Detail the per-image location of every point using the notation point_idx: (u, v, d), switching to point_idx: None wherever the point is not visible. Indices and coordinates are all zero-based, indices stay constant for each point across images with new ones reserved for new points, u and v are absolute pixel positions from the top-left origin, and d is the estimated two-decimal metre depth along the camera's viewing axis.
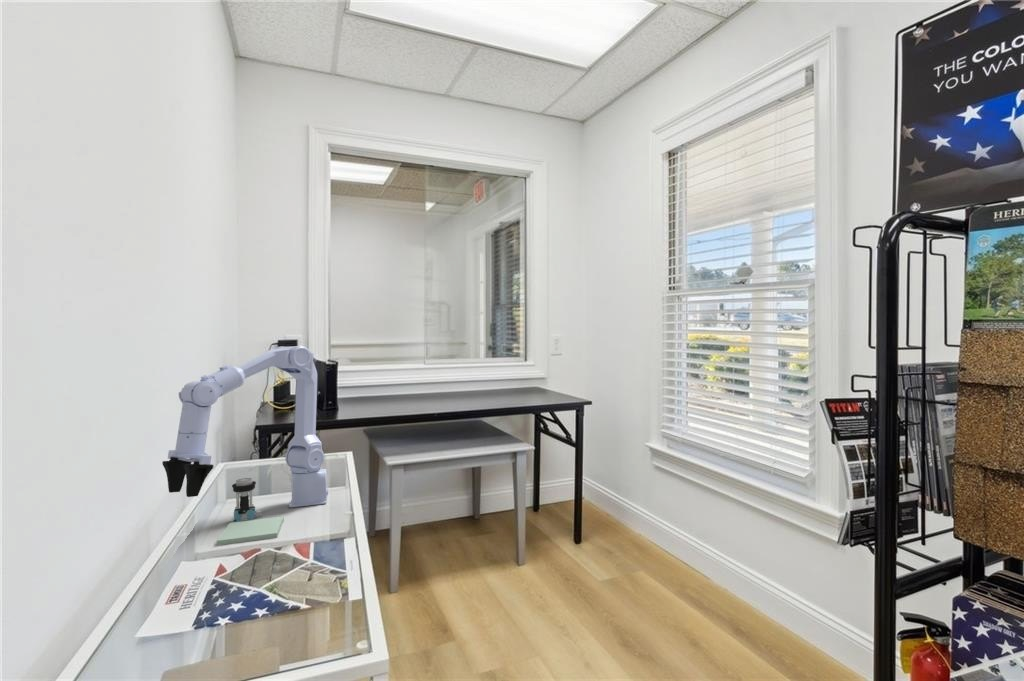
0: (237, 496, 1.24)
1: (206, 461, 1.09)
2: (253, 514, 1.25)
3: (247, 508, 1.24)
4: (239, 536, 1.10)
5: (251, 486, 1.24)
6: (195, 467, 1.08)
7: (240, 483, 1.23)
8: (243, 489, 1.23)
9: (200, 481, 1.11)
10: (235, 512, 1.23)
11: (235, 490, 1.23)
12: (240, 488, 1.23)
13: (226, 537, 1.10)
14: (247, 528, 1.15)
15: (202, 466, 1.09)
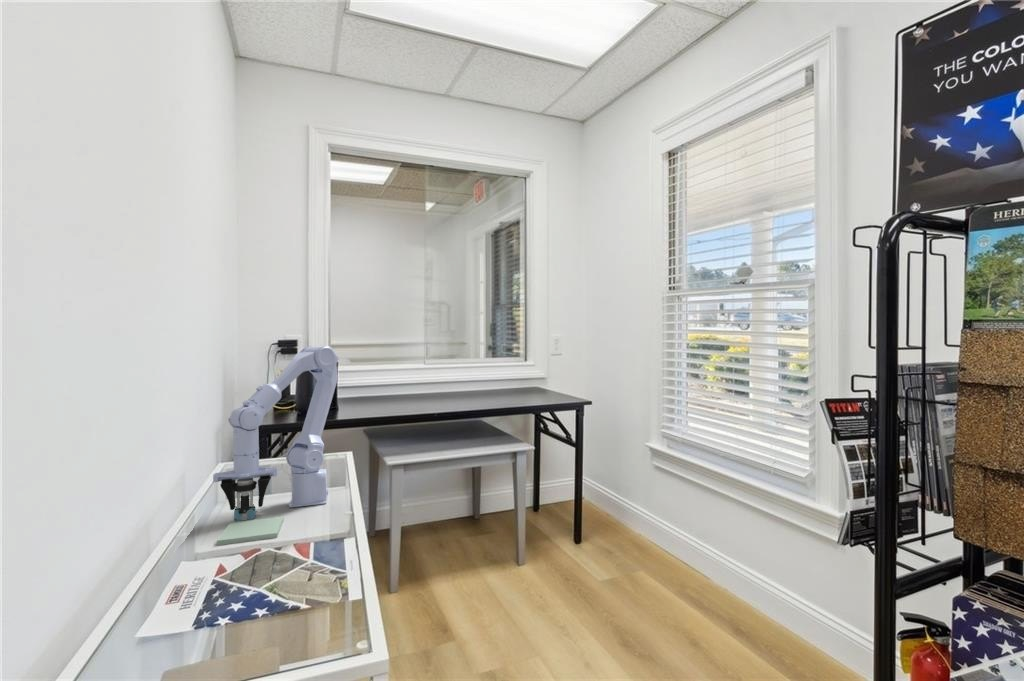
0: (238, 495, 1.24)
1: None
2: (253, 514, 1.25)
3: (247, 508, 1.24)
4: (239, 536, 1.10)
5: (252, 486, 1.24)
6: (269, 480, 1.26)
7: (241, 483, 1.23)
8: (244, 489, 1.23)
9: (263, 491, 1.27)
10: (235, 511, 1.23)
11: (236, 489, 1.23)
12: (241, 488, 1.23)
13: (226, 537, 1.10)
14: (247, 528, 1.15)
15: (270, 478, 1.27)
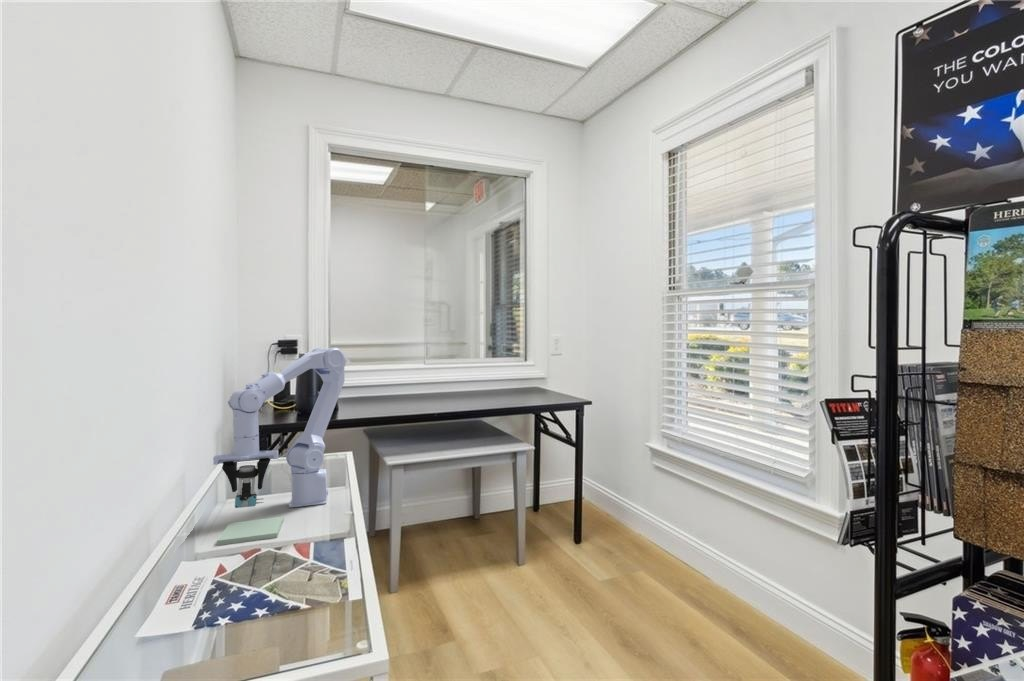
0: (239, 482, 1.24)
1: (277, 456, 1.28)
2: (254, 501, 1.25)
3: (248, 495, 1.24)
4: (239, 536, 1.10)
5: (254, 473, 1.24)
6: (268, 462, 1.26)
7: (243, 469, 1.24)
8: (246, 475, 1.23)
9: (262, 474, 1.27)
10: (236, 498, 1.24)
11: (238, 476, 1.23)
12: (243, 474, 1.23)
13: (226, 537, 1.10)
14: (247, 528, 1.15)
15: (269, 461, 1.27)
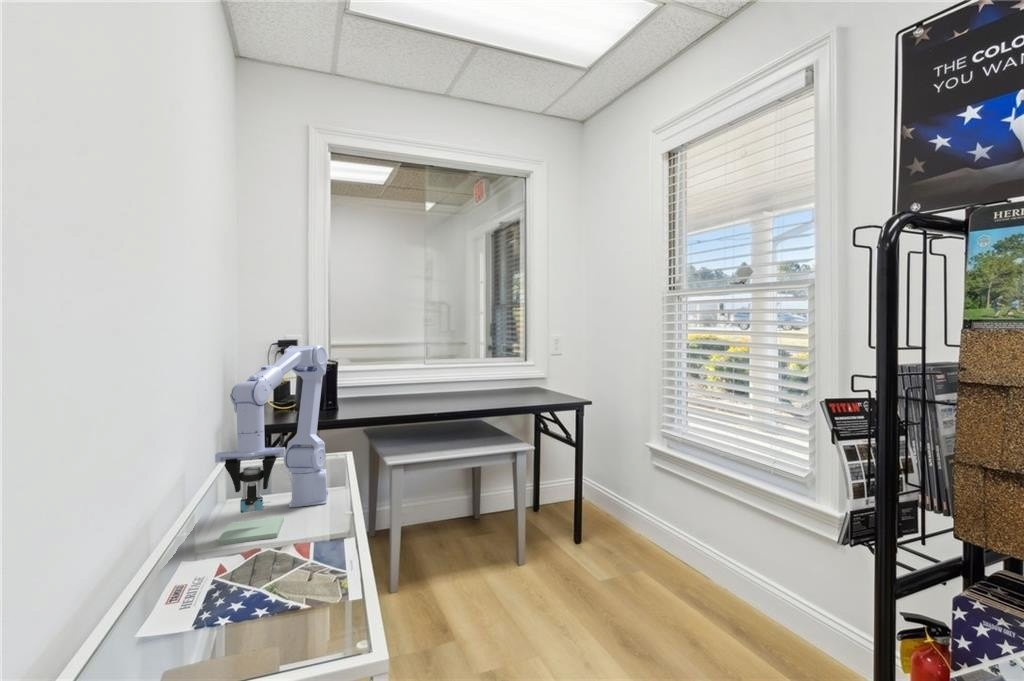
0: (244, 486, 1.15)
1: None
2: (261, 505, 1.17)
3: (255, 499, 1.16)
4: (239, 536, 1.10)
5: (260, 476, 1.15)
6: (274, 460, 1.16)
7: (248, 472, 1.15)
8: (251, 479, 1.14)
9: (268, 473, 1.18)
10: (242, 503, 1.15)
11: (242, 479, 1.14)
12: (248, 477, 1.14)
13: (226, 537, 1.10)
14: (247, 528, 1.15)
15: (275, 459, 1.18)
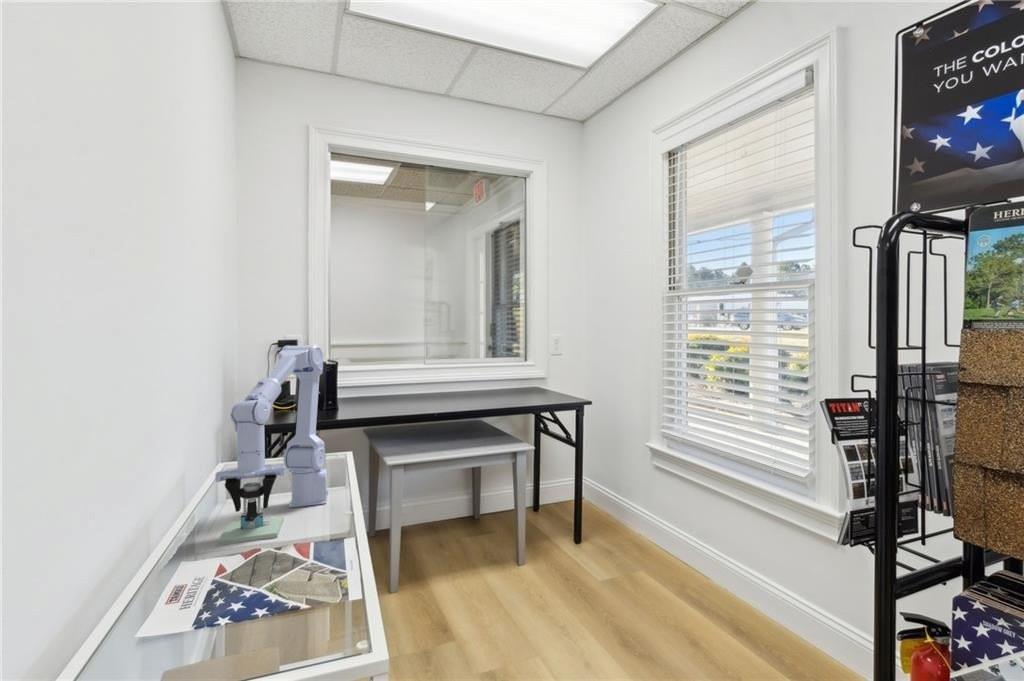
0: (244, 502, 1.15)
1: (284, 472, 1.18)
2: (261, 521, 1.16)
3: (255, 515, 1.15)
4: (239, 536, 1.10)
5: (260, 492, 1.15)
6: (274, 479, 1.16)
7: (248, 488, 1.14)
8: (251, 495, 1.14)
9: None
10: (242, 519, 1.15)
11: (242, 496, 1.14)
12: (248, 494, 1.14)
13: (226, 537, 1.10)
14: None
15: (275, 477, 1.18)
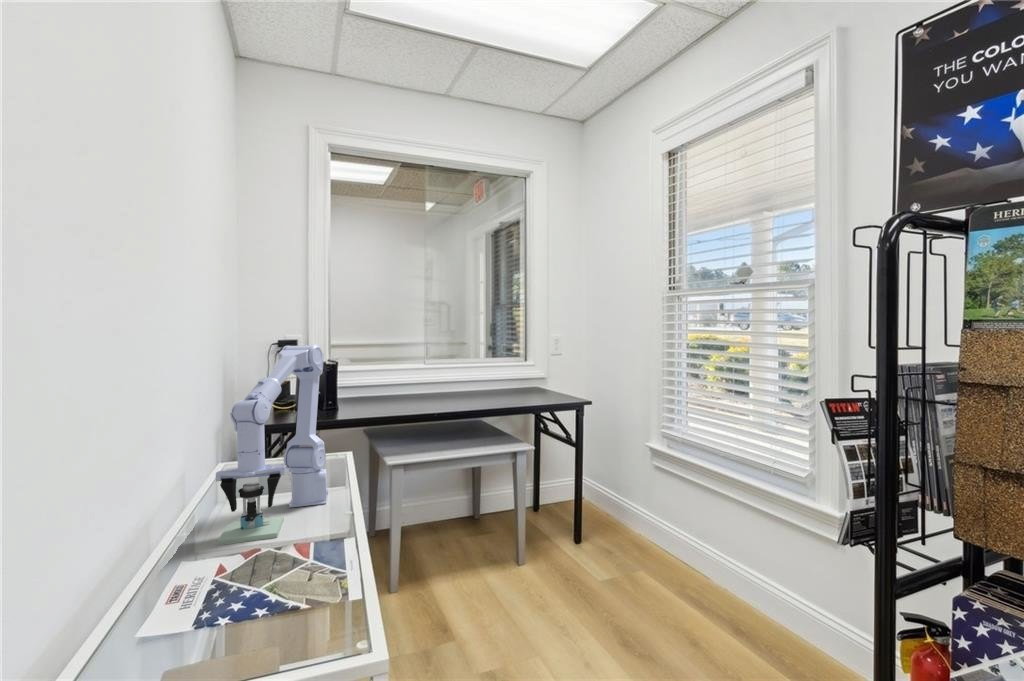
0: (244, 502, 1.15)
1: (284, 471, 1.18)
2: (261, 521, 1.17)
3: (255, 515, 1.16)
4: (239, 536, 1.10)
5: (259, 491, 1.16)
6: (279, 478, 1.16)
7: (247, 488, 1.15)
8: (251, 494, 1.14)
9: None
10: (242, 519, 1.15)
11: (242, 496, 1.14)
12: (247, 493, 1.14)
13: (226, 537, 1.10)
14: None
15: (280, 476, 1.18)
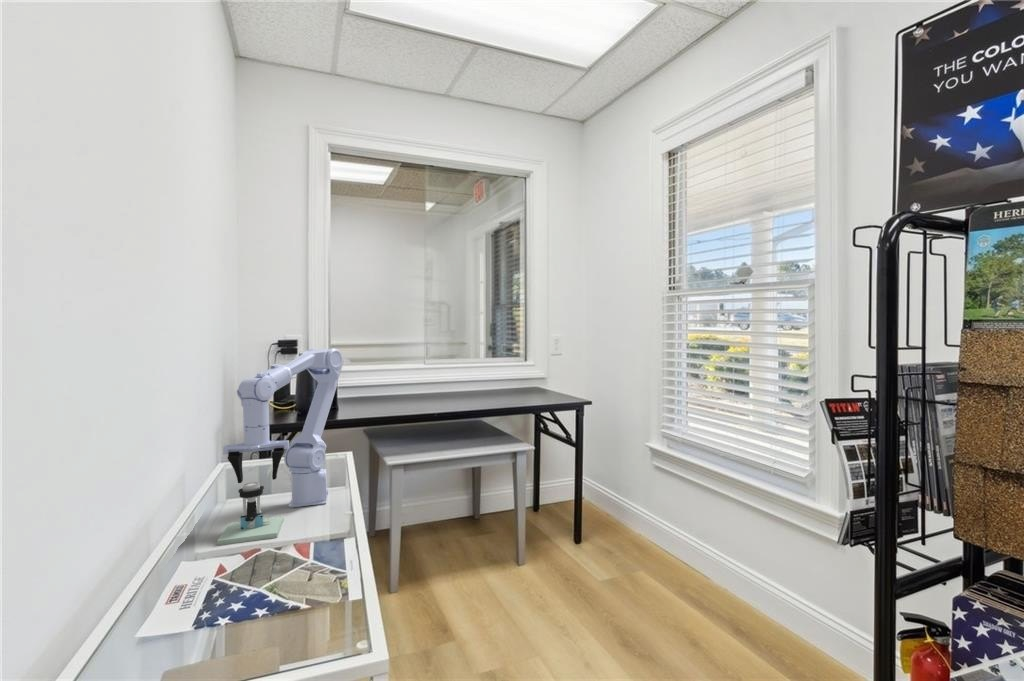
0: (244, 502, 1.15)
1: (288, 446, 1.25)
2: (261, 521, 1.17)
3: (255, 515, 1.16)
4: (239, 536, 1.10)
5: (259, 491, 1.16)
6: (283, 452, 1.23)
7: (247, 488, 1.15)
8: (251, 494, 1.14)
9: None
10: (242, 519, 1.15)
11: (242, 496, 1.14)
12: (247, 493, 1.14)
13: (226, 537, 1.10)
14: None
15: None
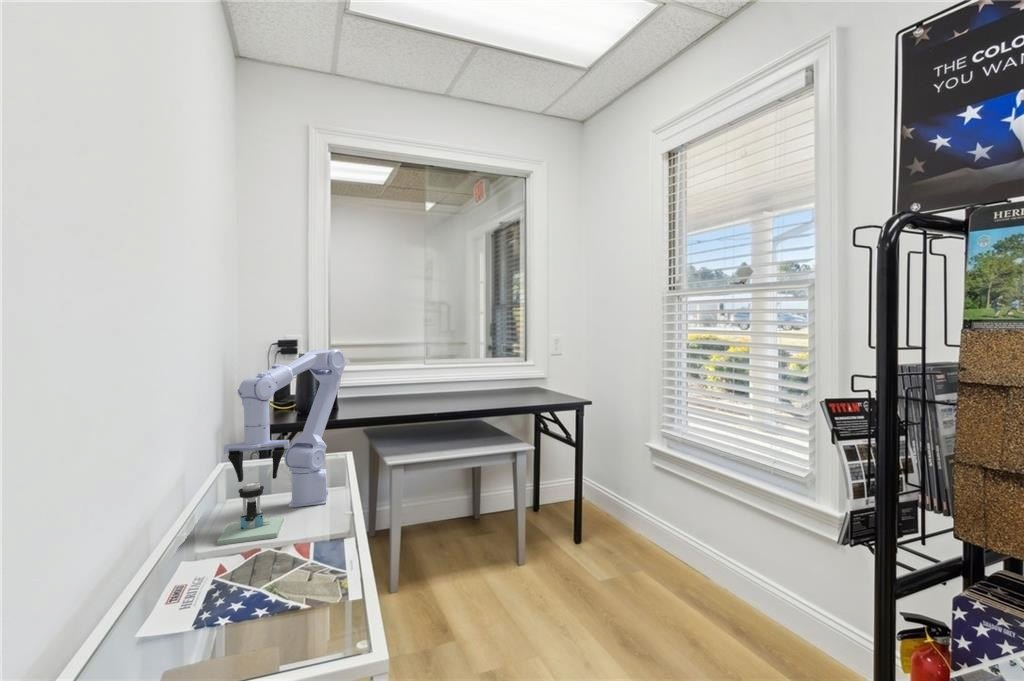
0: (244, 502, 1.15)
1: None
2: (261, 521, 1.17)
3: (255, 515, 1.16)
4: (239, 536, 1.10)
5: (259, 491, 1.16)
6: (283, 452, 1.24)
7: (247, 488, 1.15)
8: (251, 494, 1.14)
9: (277, 464, 1.26)
10: (242, 519, 1.15)
11: (242, 496, 1.14)
12: (247, 493, 1.14)
13: (226, 537, 1.10)
14: None
15: (284, 450, 1.26)
